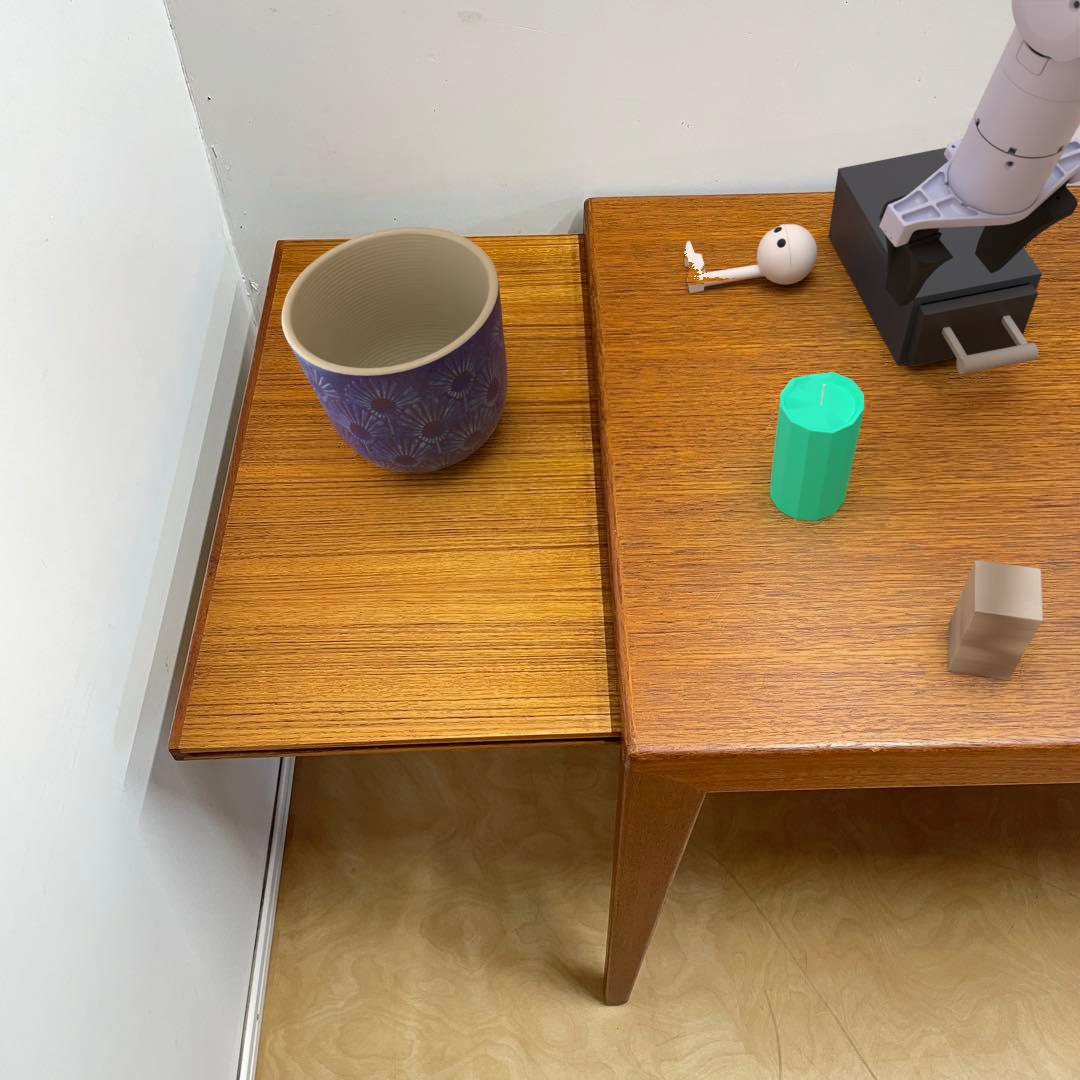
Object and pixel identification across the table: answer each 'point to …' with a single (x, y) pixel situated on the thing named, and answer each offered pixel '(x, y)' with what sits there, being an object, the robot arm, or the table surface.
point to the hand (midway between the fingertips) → (941, 279)
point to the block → (994, 619)
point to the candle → (815, 444)
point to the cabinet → (868, 256)
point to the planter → (403, 345)
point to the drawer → (975, 330)
